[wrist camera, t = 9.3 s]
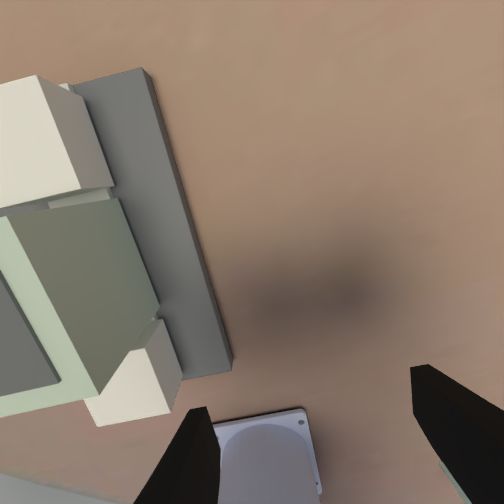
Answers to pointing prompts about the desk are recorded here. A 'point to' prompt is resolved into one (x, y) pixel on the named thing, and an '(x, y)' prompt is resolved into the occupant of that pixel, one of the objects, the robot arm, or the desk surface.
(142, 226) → the rail board
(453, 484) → the l-shaped corner panel
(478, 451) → the robot arm
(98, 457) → the desk surface
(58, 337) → the block
